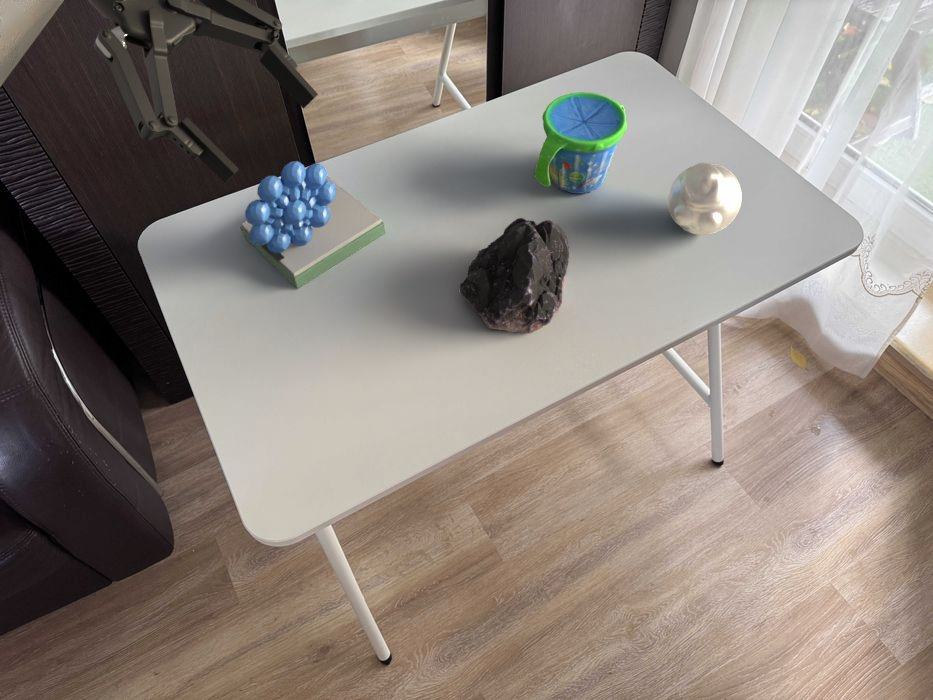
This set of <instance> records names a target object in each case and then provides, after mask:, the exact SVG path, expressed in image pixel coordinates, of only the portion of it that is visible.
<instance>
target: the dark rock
mask: <svg viewBox="0 0 933 700" xmlns="http://www.w3.org/2000/svg"><path fill="white" fill-rule="evenodd" d="M569 259H570V242H569V238H568V235H567V234H565V231H564V229H563V228H562V227H561V225H559V224H558V223H557V222H555V221H553V220H551V219H547V220H543V221H542V222H541V221H540V222H539V223H538V224H537V223H536V221H535V220H529V219H528V220H527V219H525V218H524V217H518V218H516V219H515V220H513V221H512V222H511V223H510V224H509V225H508V226H507V227H505V228H504V231H503V233H502V234H501V235H500V236H499V237H497V238H496V239H495V240H494V241H492V242H490V243H489V244H488V246H487V247H485V248H481V250H478V252H477V254H476V256H475V257H474V259H472V260H471V262H470V264H469V265H468V269H467V274H466V275H467V276H466V277H464V278H465V279H464V280H463V281H462V282H461V283H460V286H459V294H460V295H461V296H462V297H463V298H464V300H465V301H466V302H467V303H468V304H469V305H470V307H471V308H472V309H473V311H475V312H476V313H477V314H478V315H480V316H481V318H482V321H483V322H484V323H485V325H486V327H487V328H488V329H491V330H492V329H493V330H499V331H506V332H510V333H517V332H523V333H529V334H532V333H534V332H536V331H538V330H541V328H543V327H544V326H547V325H548V324H550V323H551V321H552V319H553V317H554V316H555V315H556V314H557V313H558V311H559V308H561V307H562V304H563V294H564V293H565V287H566V278H567V271H568V265H569Z"/></svg>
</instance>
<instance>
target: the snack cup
mask: <svg viewBox="0 0 933 700" xmlns="http://www.w3.org/2000/svg"><path fill="white" fill-rule="evenodd" d="M541 118H542V119H541V120H542V122H543V123H542V125H543V130H544V133H545V135H546V138H545V139H544V142H543V143H542V147H541V149H540V152H539V156H538V158H537V163H536V166H535V169H534V177H535V179H536V181H537V182H538V183H539V184H541V185H543V186H544V187H547V188H548V187H550V186H551V179H552V181H553V183H554V184H555V185H556V186H557V188H558V189H559V190H561V191H566V192H569V193H571V194H572V193H573V194H584V195H585V194H590V193H591V192H593V191H595V190H597V189H598V188H599V187H601V186H602V184H603V183H604V182H605V180H606V178H607V174H608V172H609V170H610V167H611V164H612V161H613V159H614V155H615V153H616V150H617V147H618V145H619V141H620V140H621V139H622V137H623V136H624V134H625V133H626V131H627V128H628V124H627V115H626V110H625V107H624V105H623V104H621V102H619V101H617V100H614V99H613V98H610V97H608V96H605V95H603V94H599V93H596V92H587V91H586V92H585V91H581V92H580V91H579V92H572V93H571V92H570V93H568V94H564V95H560V96H559V97H556V98H555V99H554V100H552V101H551V102H550V103H549V104H548V105H547V106H546V107H545V110H544V111H543V114H542V117H541ZM550 177H551V179H550Z"/></svg>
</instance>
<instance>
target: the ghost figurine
mask: <svg viewBox="0 0 933 700" xmlns="http://www.w3.org/2000/svg"><path fill="white" fill-rule="evenodd" d="M742 195H743V194H742V188H741V185H740V182H739V180H738V178H737V177H736V176H735V174H733V172H732V171H730V170H729V169H727V167H724V166H722V165H720V164H716V163H711V162H698V163H696V164H694V165H692V166H689V167H688V168H686V169H685V170H683V171H682V172H681V173H679V174H678V175H677V177H675V179H674V181H673V182H672V184H671V186H670V188H669V191H668V196H667V206H668V211H669V214H670V217H671V218H672V220H673V222H674V223H675V224H677V225H678V226H679V227H680V228H681V229H682V230H684V231H685V232H687V233H690V234H693V235H697V236H698V235H700V236H706V235H707V236H708V235H712V234H716V233H717V232H721V231H722V230H724V229H725V228H727V227H728V226H729V225H730V224H731V223H732V222H733V221H734V220H735V218H736V217H737V216H738V213H739V212H740V209H741V206H742V202H743V201H742V199H743V196H742Z"/></svg>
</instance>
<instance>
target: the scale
mask: <svg viewBox="0 0 933 700" xmlns="http://www.w3.org/2000/svg"><path fill="white" fill-rule="evenodd" d="M326 181H330V182H332V183H334V185H335V187H336V196H335V198H334V200H333V201H332V202H331V203H330V204H328V205H326V206H328V207H329V209H330V211H331V213H330V219H329V221H328V222H327V224H326V225H324V226H323V227H321V228H314V227H312V226H311V227H312V229H313V235H312V238H311V240H310V241H309V242H308V243H307V244H306V245H304V246H295V245H294V244H292V243H291V242H290V244H289V246H288V248H287V249H286V250H285V251H284V252H282V253H273V252H271V251H269V249H268V247H267V244H265V245H255V244H254V243H252V242H251V240H250V238H249V233H250V230H251V228H252V226H253V225H252V224H250V223H248V222H247V220H245V221H244V222H242V223H241V226H240V230H241V233H242V235H243V237H244V238H245V239H246V240H247V241H248V242H249V243H250V244H251V245H252V246H253V247H254V248H255V249H256V250H257V251H258V252H259V253H260V254H261V255H262V256H263V257H265V259H266V260H268V261H269V262H270V264H271V265H272V266H273V267H275V268H276V269H277V270H278V271H279V272H280V273H281V274H282V275H283V276H284V277H285V278H286V279H287V280H288V281H289V282H290V283H291V284H292V285H293V286H294V287H295V288H297V289H300V288H302V287H303V286H305V285H306V284H308V283H309V282H311V281H312V280H314V279H315V278H318V277H319V276H320V275H322V274H324V273H325V272H326V271H328V270H330V269H331V268H333V267H335V266H336V265H337V264H339V263H341V262H342V261H344V260H346V259H348V257H351V256H352V255H353V254H356V252H358V251H360V250H361V249H363V248H365V247H367V245H370V244H371V243H372V242H374V241H375V240H377V239H378V238H381V236H384V235H385V234H386V227H385V223H384V222H383V221H382V219H381V218H380V217H379V216H377V215H376V214H375V213H374V212H372V211H371V210H370V209H369V208H367V207H366V206H365V205H364V204H363V203H362V202H360V201H359V200H358V199H357V198H355V197H354V196H353V195H352V194H350V193H349V192H348V191H347V190H345V189H344V188H343V187H342V186H341V185H340V184H338V183H337V182H336V181H335V180H333V179H332V178H331V177H330V176H329V175H327V179H326Z"/></svg>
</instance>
